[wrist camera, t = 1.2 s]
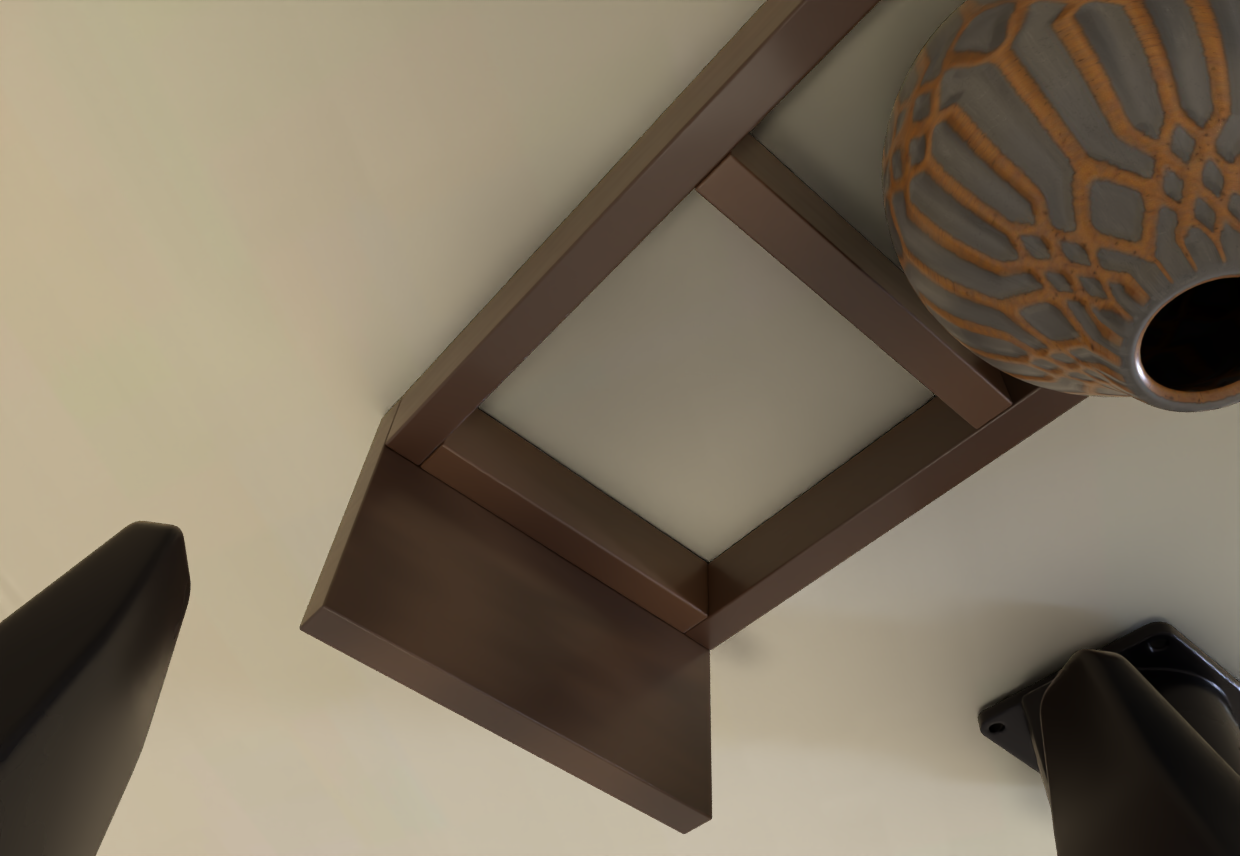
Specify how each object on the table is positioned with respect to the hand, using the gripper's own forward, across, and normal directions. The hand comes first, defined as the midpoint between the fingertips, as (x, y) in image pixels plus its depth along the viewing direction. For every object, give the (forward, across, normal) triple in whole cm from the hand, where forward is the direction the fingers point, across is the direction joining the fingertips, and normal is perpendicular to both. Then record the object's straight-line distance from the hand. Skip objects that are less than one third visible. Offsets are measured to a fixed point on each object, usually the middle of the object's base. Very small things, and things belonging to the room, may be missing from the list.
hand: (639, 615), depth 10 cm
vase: (+13, -8, -1) cm, 15 cm away
